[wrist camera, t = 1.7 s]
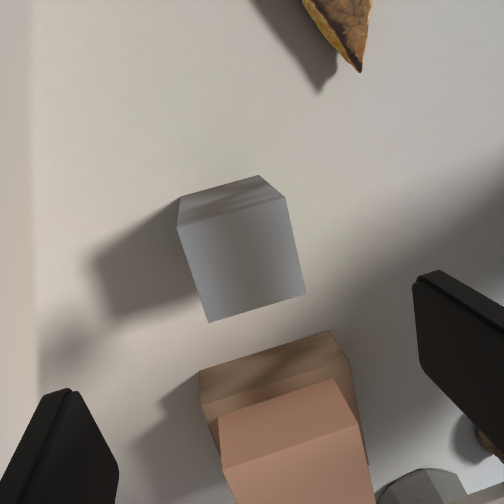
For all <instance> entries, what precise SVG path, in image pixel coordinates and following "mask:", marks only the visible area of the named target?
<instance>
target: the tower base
mask: <svg viewBox="0 0 504 504" xmlns="http://www.w3.org/2000/svg"><path fill="white" fill-rule="evenodd" d="M332 378H333V379H334V380H335V382H336V384H337V386H338V388H339V390H340V391H341V393H342V395H343V397H344V399H345V401H346V402H347V404H348V406H349V408H350V410H351V412H352V414H353V415H354V417H355V419H356V421H357V423H358V426H359V430H360V434H361V439H362V443H363V448H364V452H365V456H366V461H367V465H369V463H368V458H367V453H366V448H365V443H364V438H363V433H362V428H361V423H360V418H359V413H358V408H357V403H356V398H355V393H354V388H353V383H352V378H351V372H350V367H349V362H348V359H347V357H346V355H345V354H344V352H343V351H342V349H341V348H340V346H339V345H338V343H337V342H336V340H335V338H334V337H333V335H332V334H331V332H330V331H329V330H328V331H325V332H322V333H319V334H315V335H312V336H309V337H306V338H303V339H300V340H296V341H293V342H290V343H287V344H284V345H280V346H277V347H274V348H271V349H268V350H265V351H261V352H258V353H255V354H252V355H249V356H245V357H242V358H239V359H236V360H233V361H230V362H226V363H223V364H220V365H217V366H214V367H211V368H207V369H204V370H201V371H199V382H200V407H201V409H202V412H203V414H204V417H205V419H206V422H207V424H208V427H209V429H210V432H211V434H212V437H213V439H214V442H215V444H216V447H217V449H218V452H219V454H220V457H221V450H220V438H219V427H218V417H219V416H222V415H225V414H228V413H231V412H234V411H237V410H240V409H243V408H246V407H249V406H252V405H255V404H258V403H261V402H264V401H267V400H270V399H272V398H275V397H278V396H281V395H284V394H287V393H290V392H293V391H296V390H299V389H302V388H305V387H308V386H311V385H314V384H317V383H320V382H323V381H326V380H329V379H332Z"/></svg>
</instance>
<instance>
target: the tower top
mask: <svg viewBox="0 0 504 504" xmlns="http://www.w3.org/2000/svg"><path fill="white" fill-rule="evenodd" d="M218 427H219V438H220V450H221V461H222V471H223V473H224V476H225V478H226V480H227V482H228V485H229V487H230V489H231V492H232V494H233V496H234V499H235V501H236V503H237V504H376V500H375V496H374V491H373V487H372V483H371V478H370V474H369V470H368V465H367V461H366V456H365V452H364V448H363V443H362V439H361V434H360V430H359V426H358V423H357V421H356V419H355V417H354V415H353V414H352V412H351V410H350V408H349V406H348V404H347V402H346V401H345V399H344V397H343V395H342V393H341V391H340V390H339V388H338V386H337V384H336V382H335V380H334V379H333V378H332V379H329V380H326V381H323V382H320V383H317V384H314V385H311V386H308V387H305V388H302V389H299V390H296V391H293V392H290V393H287V394H284V395H281V396H278V397H275V398H272V399H270V400H267V401H264V402H261V403H258V404H255V405H252V406H249V407H246V408H243V409H240V410H237V411H234V412H231V413H228V414H225V415H222V416H219V417H218Z"/></svg>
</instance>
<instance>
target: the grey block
mask: <svg viewBox="0 0 504 504" xmlns="http://www.w3.org/2000/svg"><path fill="white" fill-rule="evenodd" d="M176 229H177V232H178V235H179V238H180V241H181V243H182V246H183V249H184V252H185V255H186V258H187V261H188V264H189V267H190V270H191V273H192V276H193V279H194V282H195V285H196V288H197V291H198V294H199V297H200V300H201V302H202V305H203V308H204V311H205V314H206V317H207V320H208V323H210V322H213V321H217V320H220V319H223V318H227V317H230V316H233V315H237V314H240V313H243V312H247V311H250V310H253V309H257V308H260V307H263V306H267V305H270V304H273V303H277V302H280V301H284V300H287V299H290V298H294V297H297V296H300V295H304V294H306V291H305V286H304V282H303V277H302V273H301V268H300V263H299V259H298V254H297V250H296V245H295V241H294V236H293V232H292V227H291V222H290V218H289V213H288V209H287V204H286V200H285V197H284V196H283V195H282V194H281V193H279V192H278V191H277V190H276V189H275V188H274V187H272V186H271V185H270V184H269V183H268V182H266V181H265V180H264V179H263V178H262V177H261V176H259V175H257V176H253V177H249V178H246V179H242V180H239V181H235V182H232V183H228V184H224V185H221V186H217V187H214V188H210V189H206V190H203V191H199V192H196V193H192V194H188V195H185V196H181V197H180V203H179V211H178V219H177V226H176Z"/></svg>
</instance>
